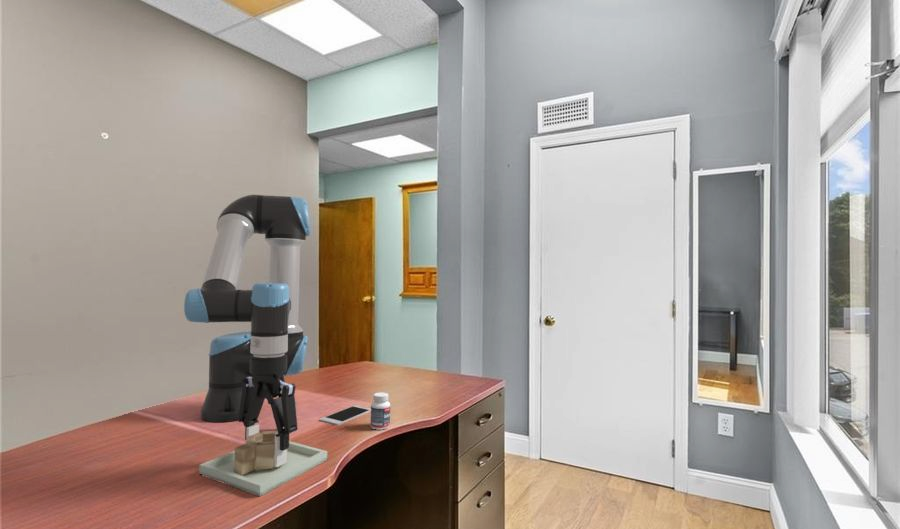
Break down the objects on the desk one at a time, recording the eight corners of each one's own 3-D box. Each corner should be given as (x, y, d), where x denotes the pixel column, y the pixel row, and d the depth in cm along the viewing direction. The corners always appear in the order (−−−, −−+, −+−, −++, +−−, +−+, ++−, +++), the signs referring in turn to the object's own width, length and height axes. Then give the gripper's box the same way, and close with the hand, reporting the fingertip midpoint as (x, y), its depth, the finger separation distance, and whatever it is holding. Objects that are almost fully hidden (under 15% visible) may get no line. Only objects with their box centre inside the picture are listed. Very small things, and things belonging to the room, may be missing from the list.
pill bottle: (385, 431, 116) (386, 397, 116) (367, 429, 117) (368, 396, 117) (392, 424, 121) (393, 392, 121) (374, 422, 122) (375, 391, 122)
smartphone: (318, 422, 123) (318, 418, 123) (355, 407, 137) (355, 404, 137) (337, 426, 120) (337, 423, 120) (373, 411, 133) (373, 408, 133)
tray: (199, 474, 90) (199, 464, 90) (270, 444, 106) (270, 436, 106) (260, 496, 82) (260, 485, 82) (327, 460, 98) (327, 451, 98)
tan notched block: (268, 450, 99) (269, 428, 99) (294, 457, 96) (294, 435, 96) (224, 469, 89) (225, 445, 89) (251, 478, 86) (252, 453, 86)
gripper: (221, 352, 95) (218, 456, 95) (290, 362, 86) (287, 478, 86) (250, 346, 102) (247, 444, 102) (317, 356, 93) (315, 463, 92)
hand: (266, 459), depth 94 cm, fingers closed on tan notched block, 8 cm apart
